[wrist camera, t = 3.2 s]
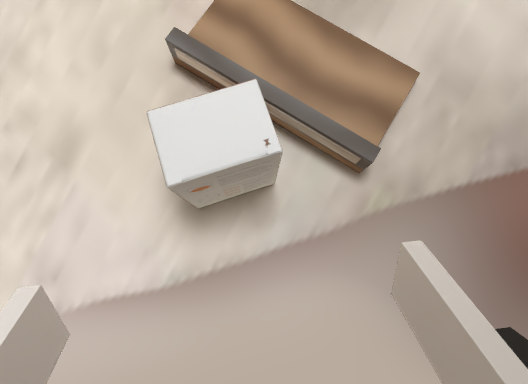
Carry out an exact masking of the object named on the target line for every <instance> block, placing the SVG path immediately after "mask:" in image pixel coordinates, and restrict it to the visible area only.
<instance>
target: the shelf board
mask: <svg viewBox="0 0 528 384" xmlns="http://www.w3.org/2000/svg"><path fill="white" fill-rule="evenodd" d="M165 40H166V42H167V45H168V47H169V49H170V52H171V54H172V57H173V59H174V61H175V63H177V64H178V65H180V66H182V67H183V68H185V69H187V70H188V71H190V72H192V73H193V74H195V75H197V76H198V77H200V78H202V79H203V80H205V81H207V82H208V83H210V84H212V85H213V86H215V87H217V88H218V89H223V88H227V87H230V86H233V85H236V84H240V83H243V82H247V81H250V80H253V79H256V80H257V82H258V85H259V87H260V90H261V93H262V96H263V98H264V101H265V104H266V107H267V109H268V112H269V115H270V118H271V120H272V121H274V122H275V123H277V124H279V125H280V126H282V127H284V128H285V129H287V130H289V131H290V132H292V133H294V134H295V135H297V136H299V137H300V138H302V139H304V140H305V141H307V142H309V143H310V144H312V145H314V146H315V147H317V148H319V149H320V150H322V151H324V152H325V153H327V154H329V155H330V156H332V157H334V158H335V159H337V160H339V161H340V162H342V163H344V164H345V165H347V166H349V167H350V168H352V169H354V170H355V171H357V172H359V173H360V172H361V171H363V170H364V169H365V168H366V167H368V166H369V165H370V164H372V163H373V162H374V160H375V158H376V156H377V155H378V153H379V151H380V149H381V148H379V147H378V144H379V142H380V141H381V139H382V137H383V136H384V134H385V132H386V130H387V129H388V127H389V125H390V124H391V122H392V120H393V118H394V117H395V115H396V113H397V112H398V110H399V108H400V107H401V105H402V103H403V101H404V100H405V98H406V96H407V95H408V93H409V91H410V89H411V88H412V86H413V84H414V83H415V81H416V79H417V77H418V76H419V74H420V73H419V72H418V71H416V70H414V69H412V68H411V67H409V66H407V65H405V64H403V63H402V62H400V61H398V60H396V59H394V58H393V57H391V56H389V55H387V54H386V53H384V52H382V51H380V50H378V49H377V48H375V47H373V46H371V45H369V44H368V43H366V42H364V41H362V40H361V39H359V38H357V37H355V36H353V35H352V34H350V33H348V32H346V31H344V30H343V29H341V28H339V27H337V26H336V25H334V24H332V23H330V22H328V21H327V20H325V19H323V18H321V17H319V16H318V15H316V14H314V13H312V12H311V11H309V10H307V9H305V8H303V7H302V6H300V5H298V4H296V3H294V2H293V1H291V0H214V2H213V3H212V4H211V6H210V7H209V8H208V9H207V11H206V12H205V13H204V15H203V16H202V17H201V19H200V20H199V21H198V22H197V24H196V25H195V26H194V28H193V29H192V30H191V31H190V33H189V34H188V35H187V34H186V33H184V32H182V31H181V30H179V29H177V28H175V27H174V28H173V29H172V31H171V32H170V33H169V35H168V36H167V37H166V38H165Z"/></svg>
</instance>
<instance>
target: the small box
mask: <svg viewBox="0 0 528 384" xmlns="http://www.w3.org/2000/svg"><path fill="white" fill-rule="evenodd" d="M147 116H148V120H149V124H150V128H151V131H152V135H153V139H154V142H155V146H156V150H157V153H158V157H159V160H160V164H161V168H162V171H163V175H164V179H165V182H166V186H167V187H168V188H169V189H170V190H172V191H173V192H175V193H176V194H177V195H179V196H180V197H182V198H183V199H184V200H186V201H187V202H189V203H190V204H192V205H193V206H195V207H196V208H201V207H204V206H207V205H210V204H213V203H216V202H220V201H223V200H226V199H229V198H232V197H235V196H238V195H241V194H244V193H247V192H250V191H253V190H256V189H259V188H262V187H265V186H268V185H272V184H274V183H275V181H276V177H277V172H278V168H279V164H280V161H281V156H282V152H283V150H282V147H281V145H280V142H279V139H278V137H277V134H276V131H275V128H274V126H273V123H272V120H271V118H270V115H269V112H268V109H267V107H266V104H265V101H264V98H263V96H262V93H261V90H260V87H259V85H258V82H257V80H256V79H253V80H250V81H247V82H243V83H240V84H236V85H233V86H230V87H227V88H223V89H220V90H217V91H213V92H210V93H207V94H203V95H200V96H197V97H193V98H190V99H187V100H184V101H180V102H177V103H173V104H170V105H167V106H163V107H160V108H157V109H153V110H150V111H147Z"/></svg>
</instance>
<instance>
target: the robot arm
mask: <svg viewBox="0 0 528 384" xmlns="http://www.w3.org/2000/svg"><path fill="white" fill-rule="evenodd" d="M391 294H392V296H393V298H394V299H395V301H396V303H397V305H398V306H399V308H400V310H401V312H402V313H403V315H404V317H405V319H406V320H407V322H408V324H409V326H410V327H411V329H412V331H413V333H414V335H415V336H416V338H417V340H418V342H419V343H420V345H421V347H422V349H423V350H424V352H425V354H426V356H427V357H428V359H429V361H430V363H431V364H432V366H433V368H434V370H435V372H436V373H437V375H438V377H439V379H440V380H441V382H442V384H528V340H527V339H526V338H524V337H523V336H522V335H520V334H519V333H517V332H516V331H515V330H513V329H512V328H510V327H508V328H501V329H494V328H493V327H492V325H491V324H490V323H489V322H488V321H487V319H486V318H485V317H484V316H483V315H482V314H481V312H480V311H479V310H478V308H477V307H476V306H475V305H474V304H473V302H472V301H471V300H470V299H469V298H468V296H467V295H466V294H465V293H464V292H463V290H462V289H461V288H460V287H459V285H458V284H457V283H456V282H455V281H454V279H453V278H452V277H451V276H450V275H449V274H448V272H447V271H446V270H445V269H444V268H443V266H442V265H441V264H440V262H439V261H438V260H437V259H436V258H435V256H434V255H433V254H432V253H431V252H430V250H429V249H428V248H427V247H426V245H425V244H424V243H423V242H422V241H421V240H419V241H410V242H402V243H401V247H400V252H399V257H398V263H397V268H396V273H395V277H394V282H393V287H392V292H391ZM69 335H70V334H69V331H68V330H67V328H66V326H65V325H64V323H63V321H62V320H61V318H60V316H59V315H58V313H57V311H56V309H55V308H54V306H53V304H52V303H51V301H50V299H49V298H48V296H47V294H46V293H45V291H44V289H43V288H42V286H41V285H36V286H27V287H19V288H18V289H17V290H16V292H15V293H14V294H13V296H12V297H11V298H10V300H9V301H8V302H7V304H6V305H5V307H4V308H3V309H2V311H1V312H0V384H47V381H48V379H49V377H50V375H51V373H52V371H53V369H54V367H55V365H56V363H57V360H58V358H59V356H60V354H61V352H62V350H63V348H64V346H65V344H66V342H67V340H68V338H69Z"/></svg>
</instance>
